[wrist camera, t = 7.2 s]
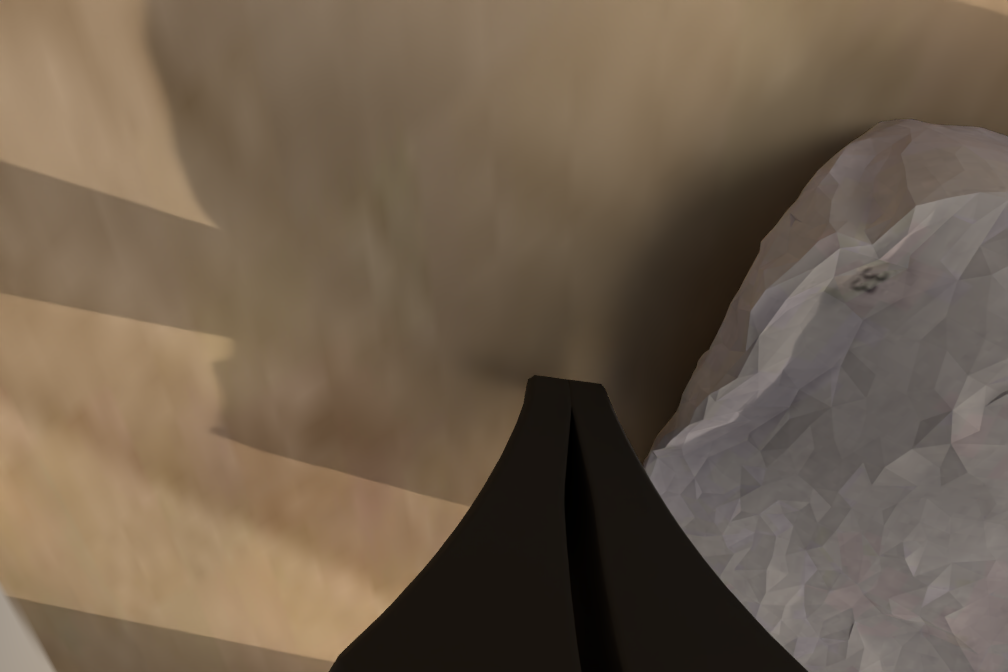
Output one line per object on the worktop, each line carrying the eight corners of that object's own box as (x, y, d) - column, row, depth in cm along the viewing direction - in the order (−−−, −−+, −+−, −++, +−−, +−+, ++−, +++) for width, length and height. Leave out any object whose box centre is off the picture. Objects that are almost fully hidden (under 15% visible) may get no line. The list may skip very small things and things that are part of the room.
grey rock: (621, 513, 18) (1027, 610, 16) (594, 677, 14) (1125, 830, 12) (719, 50, 12) (1414, 119, 10) (719, 118, 8) (1874, 253, 6)
